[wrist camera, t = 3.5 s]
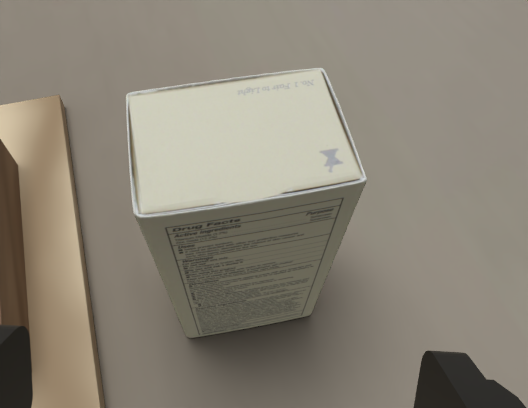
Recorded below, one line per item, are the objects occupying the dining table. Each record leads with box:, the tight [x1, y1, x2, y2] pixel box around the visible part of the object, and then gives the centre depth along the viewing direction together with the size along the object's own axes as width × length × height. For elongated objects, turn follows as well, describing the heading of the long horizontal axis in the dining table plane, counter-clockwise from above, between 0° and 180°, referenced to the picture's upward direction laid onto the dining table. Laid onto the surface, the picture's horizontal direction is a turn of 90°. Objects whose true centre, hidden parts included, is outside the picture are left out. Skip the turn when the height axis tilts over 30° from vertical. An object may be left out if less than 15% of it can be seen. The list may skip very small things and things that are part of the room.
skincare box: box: [126, 68, 367, 338], centre depth 18 cm, size 6×4×12 cm
